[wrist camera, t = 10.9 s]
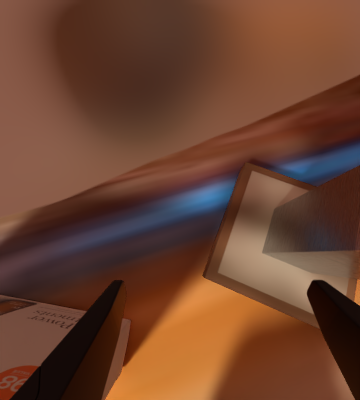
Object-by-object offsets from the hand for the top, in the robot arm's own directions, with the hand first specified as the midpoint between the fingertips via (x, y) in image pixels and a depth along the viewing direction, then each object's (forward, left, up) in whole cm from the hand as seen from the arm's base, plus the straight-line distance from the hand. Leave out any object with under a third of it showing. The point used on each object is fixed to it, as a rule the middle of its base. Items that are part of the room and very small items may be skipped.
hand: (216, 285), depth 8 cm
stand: (+6, -8, -14) cm, 17 cm away
